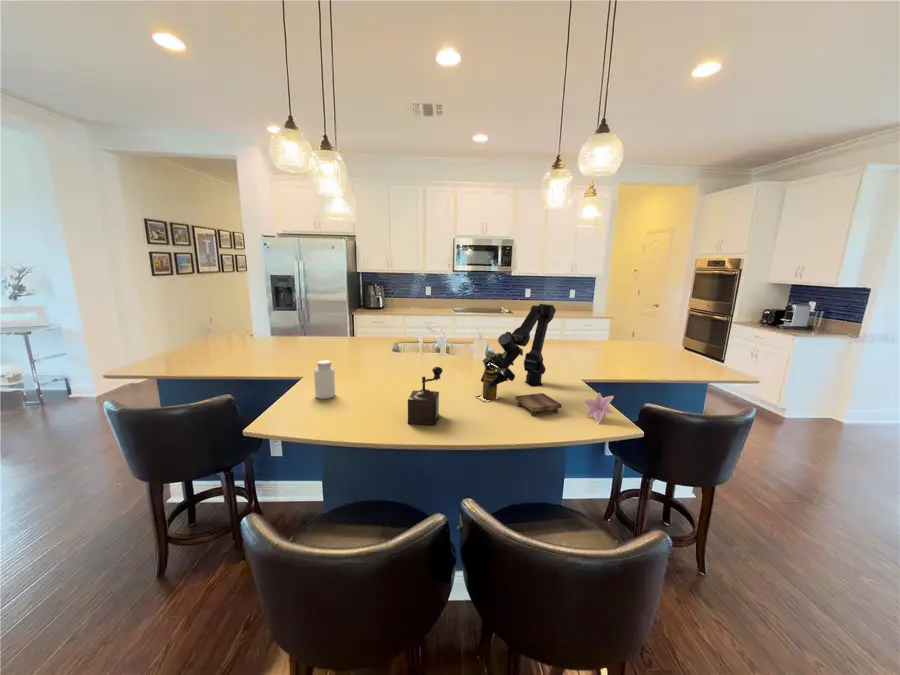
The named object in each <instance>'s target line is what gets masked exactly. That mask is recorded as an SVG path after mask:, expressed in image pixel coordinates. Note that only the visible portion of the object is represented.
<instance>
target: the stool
mask: <svg viewBox="0 0 900 675" xmlns="http://www.w3.org/2000/svg"><path fill="white" fill-rule="evenodd" d="M514 400H516V401H517V407H519V408H523V406H524V407H526V408H527V409H528V410H529V411H530V417H532V418H534V417H535V418H536V416H537V412H541V411H548V410H552V413H553V414H554V413H557V414H558V412H559V409H562V407H563V406H562V403H560V402H559V401H556V400H555V399H554V398H552V397H551V396H549V395H547V394H545V393H543V392H541V393H539V392H538V393H532V394H522V395H515V398H514Z"/></svg>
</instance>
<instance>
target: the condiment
mask: <svg viewBox="0 0 900 675" xmlns="http://www.w3.org/2000/svg"><path fill="white" fill-rule="evenodd" d="M484 371H485V370H484ZM496 373H497V370H495V371H494V370H486V371H485V374H484V373H483V374H484V378H483V382H482V394H479V395H476V396H474V397H475V398H476V397H480V396H482V395H483V398H484V399H486V401H485V402H484V403H488V402H490V401H487V400H494V401H496V400H495V399H496V397H497V395H498V394H497V390H498V384H497V385H494V386H492V387H490V386H489V384H490V383H491V381H492V380H493V379H494V377H495V376H496Z"/></svg>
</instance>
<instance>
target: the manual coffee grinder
mask: <svg viewBox="0 0 900 675" xmlns="http://www.w3.org/2000/svg"><path fill="white" fill-rule="evenodd" d="M432 373H433V378H427V379H426V376H421V382H422V389H420V390H412V392H411V394H410V396H409V397H408V398H407V424H408V425H414V426H431V427H436V426H437V424H438V422H439V420H440V414H439V410H440V409H439V408H440V404H439V403H440V402H439V401H440V391H436V390H435V391H434V390H429V389H426V383H427V382H432V381H438V380H441V374H442V373H443V369H442V367H440V366H434V367H433V368H432Z"/></svg>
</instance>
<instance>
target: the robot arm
mask: <svg viewBox="0 0 900 675" xmlns="http://www.w3.org/2000/svg"><path fill="white" fill-rule="evenodd" d="M556 311H557V310H556V307H555V306H554V305H553V304H546V303H545V304H544V303H540V304H539V305H532V306H531V307H530V311H529V312H528V314H527V315H526V317H525V318H524V320H523V322H522V324H521V325H520V326H519V327H517V328H515V330H513V332H512V333H511V331H506V332H505V333H503V334H501V335H499V336H498V338H497V342H498V344H499V346H500V347H501V349H503V351H504V352H503V353H502V352H497V353H494V352H492V351H490V350H488V352H487V355H486V356H485V358H484V359H483V360H482V363H483V365H484V371H483V373H482V376H481V379H480V382H482V383H483V378H484V374H485V371H486V370H494V371H496V372H497V373H496V376H495V377H494V379H493V380H492V381H491V383H490V384H489V386H490V387H492V386H494V385H497V386H498V385H499V384H501V383H504V382H508V381H510V382H513V381H514V380H515V378H516V375H515V373H513V371H512V370H511V369H510V368H509V367H510V366H512V367H513V366H514V365H515V363H514V361H516V359H518V357H519V356H523V354H524V353H523V352H524V349H523V348H521V347H526V346H527V345H528V344H529V342H530V340H531V339H530V338H531V335H530V334H531V331H532V330H533V328H534V327H535V324H536V323H537V325H536V328H535V332H534V336H533V341H532V345H531V349H530V351H529V352H526V353H525V357H524V360H523V367H524V369H523V370H524V371H525V372H527V373H526V375H525V376H526V377H525V380H524V383H526V384H527V385H529V386H530V387H536V386H537V387H539V386H543V385H544V384H543V383H542V376H543V375H544V374H545V373H546V369H547V368H546V367H545V364H544V363H543V362H544V357H543V354H542V350H543V346H544V342H545V338H546V334H547V329H548V325H549V323H550V322H551V321H552V320H553V319H554V316H555V314H556Z"/></svg>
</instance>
